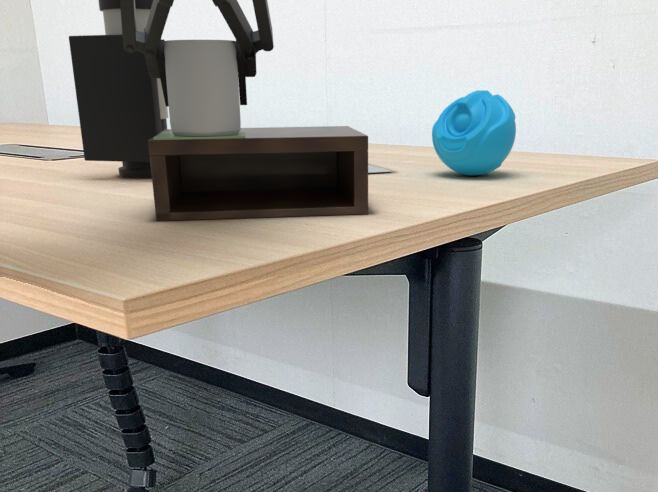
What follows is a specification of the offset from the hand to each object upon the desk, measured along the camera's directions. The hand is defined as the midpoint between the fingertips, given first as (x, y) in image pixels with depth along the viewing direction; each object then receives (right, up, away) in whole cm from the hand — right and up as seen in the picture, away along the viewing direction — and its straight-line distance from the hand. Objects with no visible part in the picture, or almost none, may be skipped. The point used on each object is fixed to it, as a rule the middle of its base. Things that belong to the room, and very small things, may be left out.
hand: (206, 96), depth 81 cm
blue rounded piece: (+34, -2, +28) cm, 44 cm away
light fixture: (-15, -2, +30) cm, 34 cm away
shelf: (+6, -11, +4) cm, 13 cm away
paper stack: (+7, +2, +39) cm, 39 cm away
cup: (0, -5, -2) cm, 5 cm away
